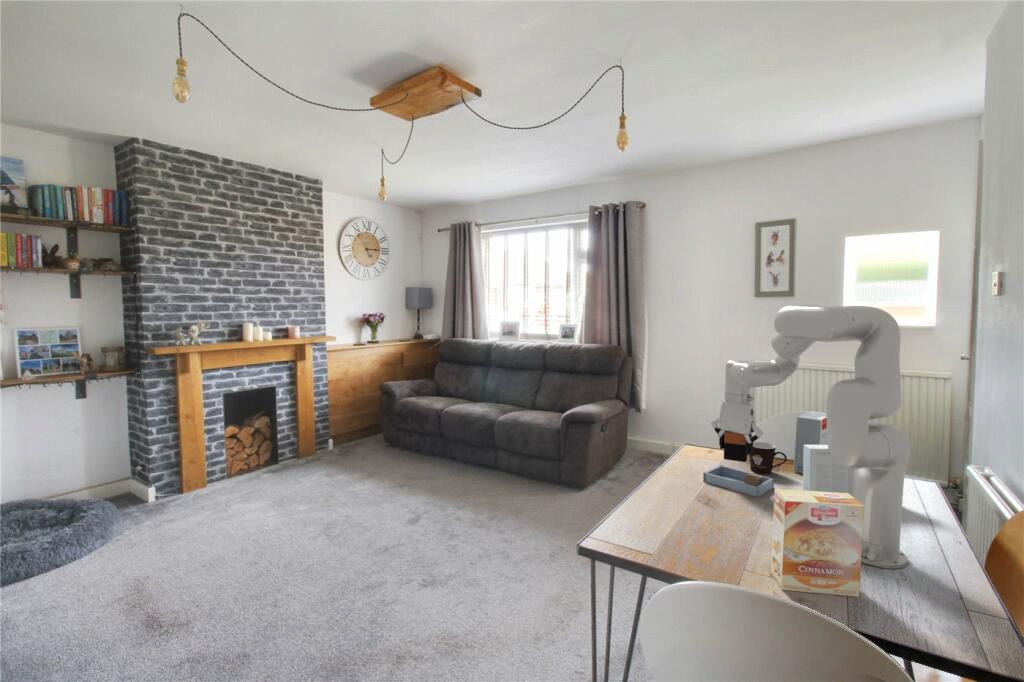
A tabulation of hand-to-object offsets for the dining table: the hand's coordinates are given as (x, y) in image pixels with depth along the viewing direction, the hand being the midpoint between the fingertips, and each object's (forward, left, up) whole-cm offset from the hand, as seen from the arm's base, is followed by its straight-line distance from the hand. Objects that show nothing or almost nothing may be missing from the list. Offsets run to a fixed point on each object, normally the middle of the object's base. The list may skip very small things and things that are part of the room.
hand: (735, 450), depth 159 cm
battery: (0, 0, -3) cm, 3 cm away
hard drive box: (+35, -12, -12) cm, 39 cm away
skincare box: (+15, -26, -12) cm, 32 cm away
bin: (0, -1, -11) cm, 12 cm away
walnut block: (0, -6, -11) cm, 12 cm away
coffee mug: (+18, -2, -12) cm, 22 cm away
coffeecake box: (-43, -37, -12) cm, 58 cm away
